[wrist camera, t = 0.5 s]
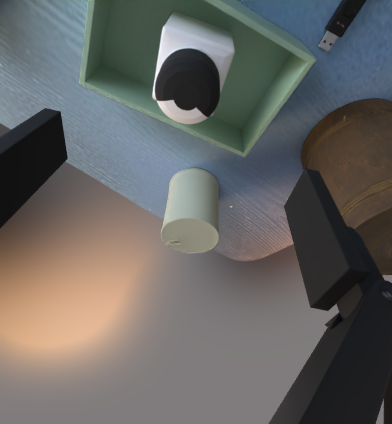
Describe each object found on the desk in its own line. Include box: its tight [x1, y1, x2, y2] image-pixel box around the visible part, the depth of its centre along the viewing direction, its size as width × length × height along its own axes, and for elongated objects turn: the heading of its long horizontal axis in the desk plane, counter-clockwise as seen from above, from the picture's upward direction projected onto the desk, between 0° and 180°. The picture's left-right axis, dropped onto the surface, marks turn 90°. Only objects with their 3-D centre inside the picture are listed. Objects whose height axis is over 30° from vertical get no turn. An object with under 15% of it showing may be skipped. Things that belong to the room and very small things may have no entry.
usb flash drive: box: [318, 0, 366, 52], centre depth 27 cm, size 8×2×1 cm, turn 160°
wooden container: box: [301, 99, 392, 275], centre depth 32 cm, size 15×15×22 cm
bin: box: [79, 0, 317, 157], centre depth 29 cm, size 22×13×6 cm, turn 65°
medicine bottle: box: [152, 11, 235, 124], centre depth 27 cm, size 7×7×12 cm
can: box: [161, 168, 220, 254], centre depth 44 cm, size 9×9×12 cm
